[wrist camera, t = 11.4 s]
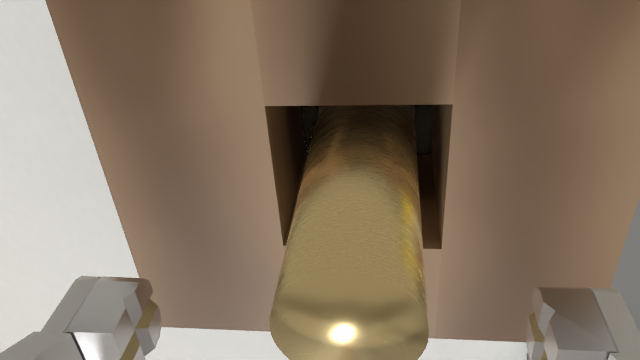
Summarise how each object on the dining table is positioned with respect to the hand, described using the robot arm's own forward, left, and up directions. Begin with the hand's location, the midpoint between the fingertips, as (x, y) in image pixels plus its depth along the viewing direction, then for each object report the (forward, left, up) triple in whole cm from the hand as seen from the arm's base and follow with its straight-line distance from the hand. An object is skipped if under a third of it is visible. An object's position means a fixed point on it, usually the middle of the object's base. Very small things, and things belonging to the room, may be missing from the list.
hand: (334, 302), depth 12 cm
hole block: (0, -1, -9) cm, 9 cm away
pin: (0, -1, -9) cm, 9 cm away
